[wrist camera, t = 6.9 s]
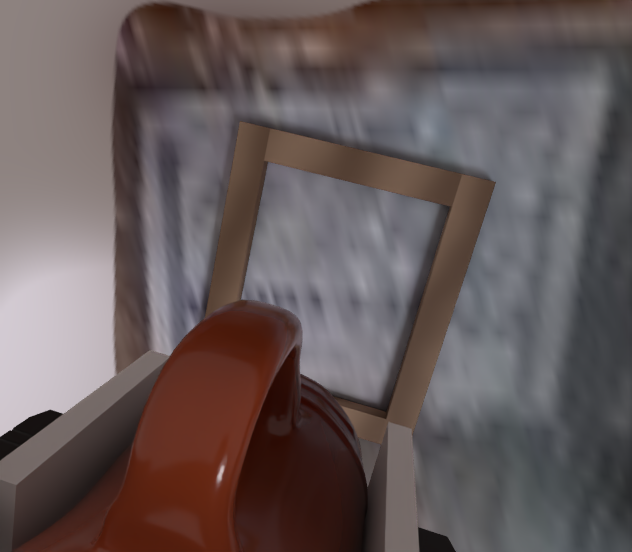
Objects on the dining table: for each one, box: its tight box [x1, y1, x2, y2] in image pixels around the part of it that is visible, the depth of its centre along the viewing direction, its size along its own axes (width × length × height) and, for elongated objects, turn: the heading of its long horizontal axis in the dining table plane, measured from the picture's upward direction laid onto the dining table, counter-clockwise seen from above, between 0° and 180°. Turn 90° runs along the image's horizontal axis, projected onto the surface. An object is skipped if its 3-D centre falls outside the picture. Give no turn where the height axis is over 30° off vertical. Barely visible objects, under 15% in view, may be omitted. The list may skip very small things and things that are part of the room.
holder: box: [205, 121, 496, 444], centre depth 31 cm, size 16×19×1 cm
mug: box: [11, 300, 368, 552], centre depth 11 cm, size 12×9×10 cm
